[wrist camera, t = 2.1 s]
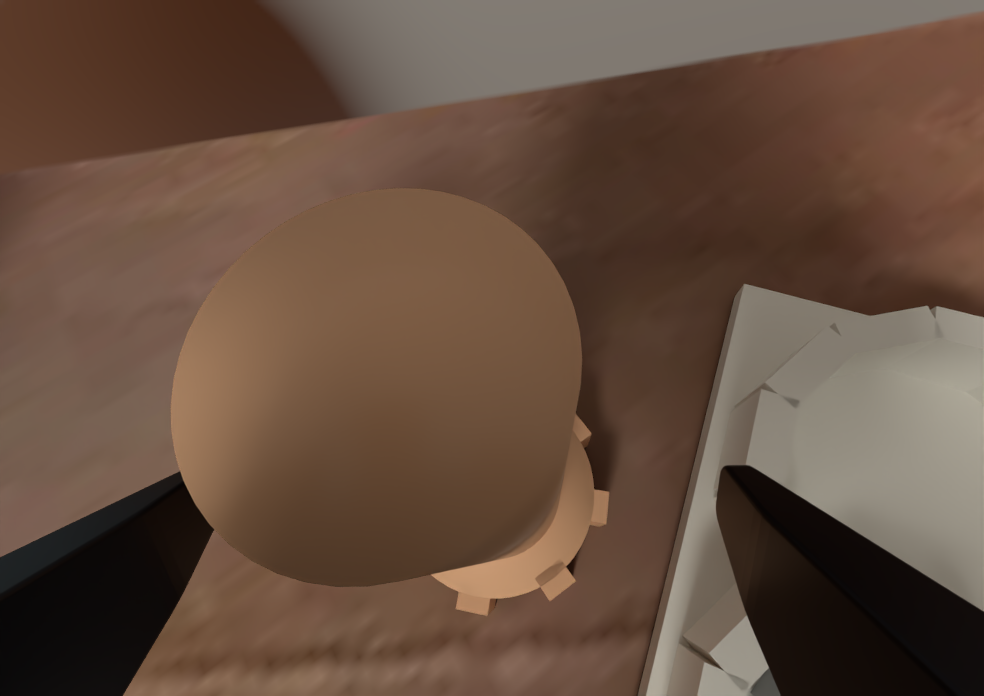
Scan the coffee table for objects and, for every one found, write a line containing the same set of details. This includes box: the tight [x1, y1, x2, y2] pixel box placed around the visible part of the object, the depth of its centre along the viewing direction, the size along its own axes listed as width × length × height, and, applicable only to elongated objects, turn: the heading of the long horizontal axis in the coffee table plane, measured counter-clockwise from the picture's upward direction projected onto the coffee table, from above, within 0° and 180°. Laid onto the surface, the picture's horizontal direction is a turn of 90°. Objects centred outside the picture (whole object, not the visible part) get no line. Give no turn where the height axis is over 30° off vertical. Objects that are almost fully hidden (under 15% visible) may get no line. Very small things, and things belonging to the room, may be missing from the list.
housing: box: [638, 284, 984, 696], centre depth 12 cm, size 19×12×6 cm, turn 159°
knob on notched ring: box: [171, 188, 609, 616], centre depth 11 cm, size 7×7×13 cm
